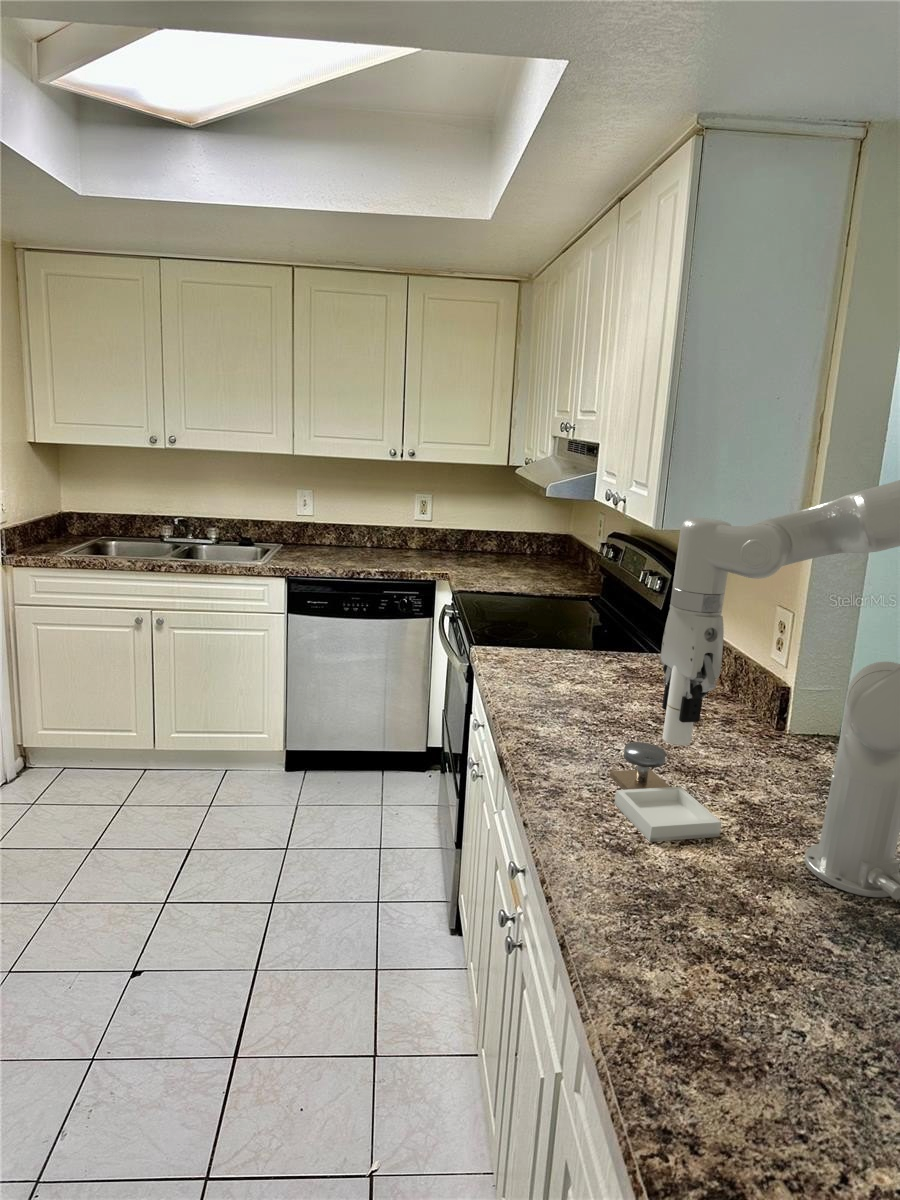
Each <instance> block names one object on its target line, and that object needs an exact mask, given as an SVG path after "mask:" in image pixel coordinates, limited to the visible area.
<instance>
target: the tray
mask: <svg viewBox="0 0 900 1200" xmlns="http://www.w3.org/2000/svg"><path fill="white" fill-rule="evenodd" d="M613 804H614V806H615V807H616V808H617V809H618V810H620V812H621V813H622V814H623V815H624V817H626V818H627V819H628V820H629V821H630V823H631V824H633V826H634V827H635V828H636V829H637V830H638V831H639V832H640V833H641V834H642V836H644V837H645V839H646V840H647V841H648V842H651V843H653V842H667V841H679V840H695V839H707V838H720V834H721V828H722V821H721V820H720V819H719V818H718V817H716V816H715V815H714V814H713V813H712V812H711V811H709V809H707V808H706V807H705V806H704V805H702V804H701V803H700V802H699V801H698V800H697V799H695V797H693V795H691V794H690V793H689V792H687V791H686V789H684V788H683V787H682V786H670V787H665V788H647V789H628V790H623V789H616V790H615V796H614V803H613Z"/></svg>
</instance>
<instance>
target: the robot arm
mask: <svg viewBox="0 0 900 1200" xmlns="http://www.w3.org/2000/svg"><path fill="white" fill-rule="evenodd" d="M680 526H681V527H680V530H679V531H680V532H679V537H678V538H679V540H678V544H677V553H676V560H675V567H674V568H675V569H674V573H673V574H674V576H673V581H672V588H671V595H670V596H671V597H670V604H669V610H668V613H667V614H668V615H667V618H666V622H665V627H664V631H663V636H662V642H661V650H660V651H661V652H660V653H661V654H660V656H659V660H660V662H661V666H662V667H663V668H662V669H663V673H664V677H663V683H664V690H663V691H664V692H663V696H662V697H663V698H662V704H661V708H662V709H663V710H664V711H666V709H667V702H668V695H669V688H670V680H671V673H672V668H673V666H676V668H677V671H678V672H679V673H680V674H682V675H683V676H685V677H686V689H685V695H686V696H682V703H681V710H680V716H679V720H680V721H681V722H694V723H698V722H700V719H701V712H702V706H703V699H705V698H706V695H707V694H708V693H709V692H711V691H712V690H715V689H716V688H717V681H716V680H718V679H719V677H720V675H721V669H722V663H723V662H722V661H723V660H722V659H723V649H724V634H725V633H724V617H723V615H722V613H723V605H724V602H725V601H724V598H725V593H726V586H727V580H728V573H731V574H735V575H738V576H742V577H744V578H748V579H754V580H755V579H766V578H769V577H771V576H773V575H774V574H776V573H777V572H779V570H780V569H782V567H784V566H788V565H792V564H795V563H800V562H804V561H808V560H812V559H816V558H821V557H827V556H832V555H838V554H870V553H877V552H882V551H886V550H891V549H894V548H898V547H900V479H899V480H895V481H892V482H888V483H884V484H881V485H878V486H877V485H876V486H874V487H870V488H866V489H863V490H859V491H856V492H853V493H850V494H846V495H843V496H841V497H839V498H837V499H834V500H831V501H828V502H824V503H821V504H817V505H814V506H811V507H807V508H804V509H800V510H796V511H792V512H788V513H785V514H782V515H778V516H774V517H770V518H768V519H763V520H760V521H757V522H753V523H752V524H750V525H744V526H743V525H741V526H740V525H732V524H731V523H729V522H727V521H725V520H720V519H714V518H705V517H690V518H687V519H686V520H684V521H683V522H682V524H681V525H680ZM697 674H700V675H699V677H697ZM693 682H699V683H698V684H697V685H696V686H695V687H694V688H693ZM845 698H846V700H845V704H844V711H843V712H844V713H843V718H842V723H841V724H842V725H841V730H840V736H839V742H838V746H837V752H836V757H835V762H834V765H833V773H832V776H831V782H830V788H829V791H828V798H827V801H826V802H827V803H826V808H825V812H824V819H823V823H822V828H821V833H820V837H819V838H820V839H819V843H816V844H813V845H811V846H809V847H807V849H806V850H805V854H804V863H805V865H806V867H807V868H808V870H809V871H810V872H812V874H814V875H815V876H816V878H818V879H820V880H821V881H823V882H824V883H827V884H829V885H830V886H832V887H834V888H836V889H839V890H842V891H845V892H847V893H850V894H854V895H858V896H862V897H869V898H887V897H890V898H892V899H894V900H899V899H900V872H899V870H900V869H899V868H900V860H897V859H896V858H895V855H896V851H897V850H896V849H897V846H898V845H897V844H898V841H899V837H900V663H898V662H894V661H876V662H874V663H870V664H869V665H866V666H865V667H863V668H861V669H860V670H859V671H858V672H857V673H855V675H854V677H852V680H851V681H850V683H849V686H848V688H847V692H846V697H845Z"/></svg>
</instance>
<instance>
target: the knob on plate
mask: <svg viewBox="0 0 900 1200" xmlns="http://www.w3.org/2000/svg"><path fill="white" fill-rule="evenodd" d="M666 756H667V752H666V751H665V750H664V749H663V748H662V747H660V746H658V745H655V744H651V743H648V742H641V741H640V742H638V741H636V742H633V741H632V742H629V743H627V744H625V746H624V751H623V758H624V759H625V760H626V761H627V762H629V763H631V764H632V765H635V766H636V769H626V770H625V769H624V770H622V769H621V770H610V773H609V777H610V778H611V779H612V780H613V781H614V782H615V784H617V785H618V786H619V787H620V788H621V790H628V789H647V788H665V787H671V786H670V785H669V784H668V783H667V782H666V781H665V780H663V778H662V777H660V776H659V775H658V774H657V773H655V771H653V770H652V769H651V768H653V769H654V768H661V767H663V766H665V763H666V762H665V761H666V758H667V757H666Z"/></svg>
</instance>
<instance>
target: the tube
mask: <svg viewBox="0 0 900 1200" xmlns="http://www.w3.org/2000/svg"><path fill="white" fill-rule="evenodd" d="M699 675H700V674H697V677H699ZM698 683H699V682H693V688H694V687H695V686H696V685H697V684H698ZM685 689H686V677H685V676H683V675H682V674H680V673H679V672H678V671H677V668H676V666H673V668H672V673H671V680H670V688H669V695H668V702H667V709H666V710H665V717H664V724H663V730H662V740H663V741H664V742H665V743H668V744H671V745H675V746H683V747H684V746H688V745H690V744H691V743H692V737H693V729H694V723H695V722H681V721H680V720H679V716H680V710H681V703H682V696H686V695H685Z"/></svg>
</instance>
